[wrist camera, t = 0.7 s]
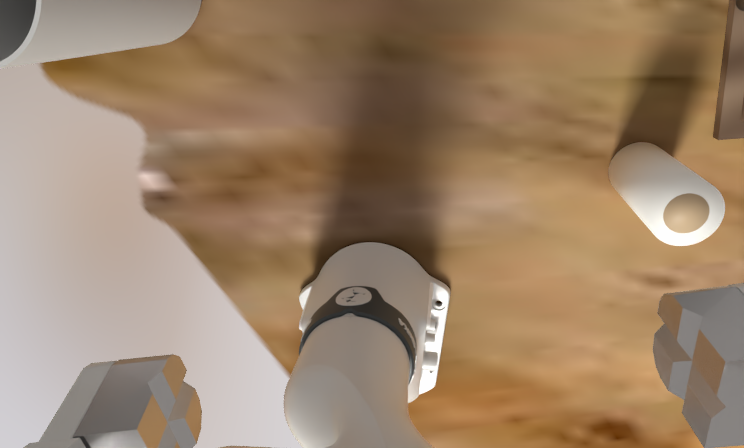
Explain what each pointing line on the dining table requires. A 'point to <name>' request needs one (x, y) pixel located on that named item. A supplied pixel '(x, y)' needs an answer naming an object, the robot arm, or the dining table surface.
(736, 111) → the roll holder
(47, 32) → the cylinder vase
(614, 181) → the paper roll
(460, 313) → the dining table surface
